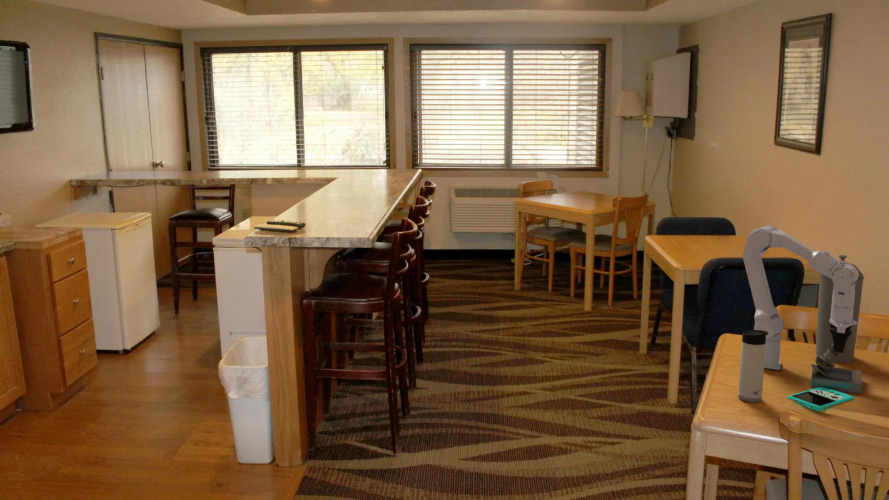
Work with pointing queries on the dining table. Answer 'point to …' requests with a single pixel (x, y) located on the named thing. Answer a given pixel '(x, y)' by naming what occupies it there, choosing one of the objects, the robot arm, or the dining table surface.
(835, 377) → the square socket
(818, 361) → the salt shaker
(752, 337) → the travel mug
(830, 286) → the canister
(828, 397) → the handheld game console
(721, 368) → the dining table surface
